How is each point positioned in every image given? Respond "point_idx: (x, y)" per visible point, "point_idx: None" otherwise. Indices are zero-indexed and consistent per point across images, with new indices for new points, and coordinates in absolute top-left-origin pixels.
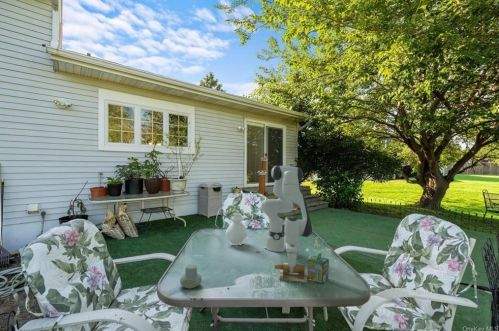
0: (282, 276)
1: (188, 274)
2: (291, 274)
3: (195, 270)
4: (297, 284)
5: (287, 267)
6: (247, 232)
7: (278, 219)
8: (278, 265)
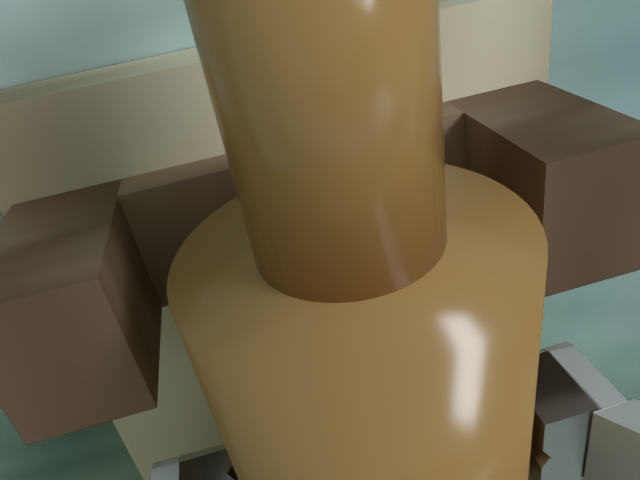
0: (94, 176)
1: None
2: None
3: None
4: (30, 462)
5: (229, 449)
6: None
7: None
8: (242, 65)
